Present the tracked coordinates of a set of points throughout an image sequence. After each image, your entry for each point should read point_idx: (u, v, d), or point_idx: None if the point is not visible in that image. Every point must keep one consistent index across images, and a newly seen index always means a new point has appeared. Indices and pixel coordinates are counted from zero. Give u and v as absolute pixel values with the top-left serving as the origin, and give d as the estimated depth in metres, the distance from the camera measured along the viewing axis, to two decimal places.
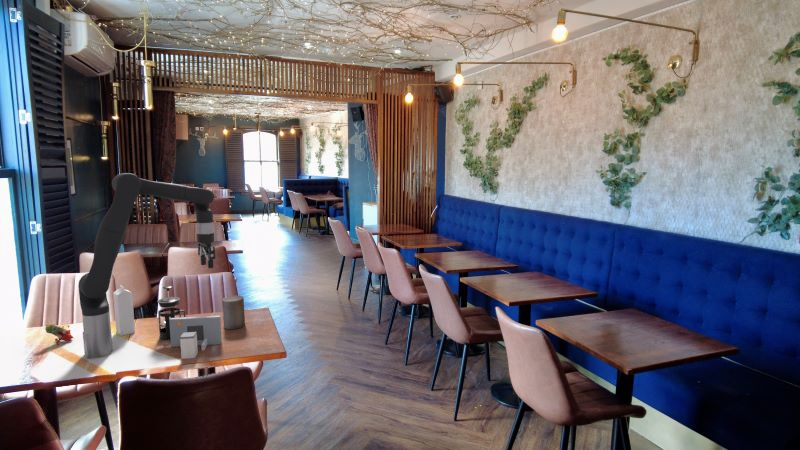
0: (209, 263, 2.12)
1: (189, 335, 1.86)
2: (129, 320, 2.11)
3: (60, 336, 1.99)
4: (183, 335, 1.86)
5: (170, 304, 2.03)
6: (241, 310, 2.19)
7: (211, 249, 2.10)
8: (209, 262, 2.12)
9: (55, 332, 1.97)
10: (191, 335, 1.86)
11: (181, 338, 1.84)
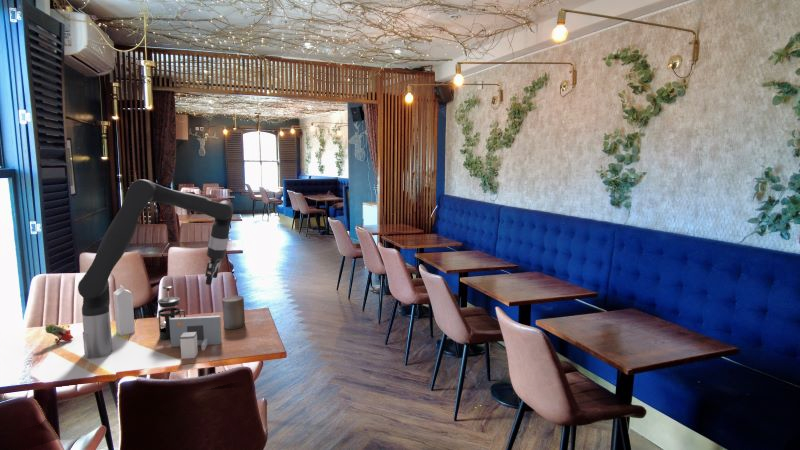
0: (207, 279, 1.99)
1: (189, 335, 1.86)
2: (129, 320, 2.11)
3: (60, 336, 1.99)
4: (183, 335, 1.86)
5: (170, 304, 2.03)
6: (241, 310, 2.19)
7: (209, 266, 1.96)
8: (207, 278, 1.99)
9: (55, 332, 1.97)
10: (191, 335, 1.86)
11: (181, 338, 1.84)
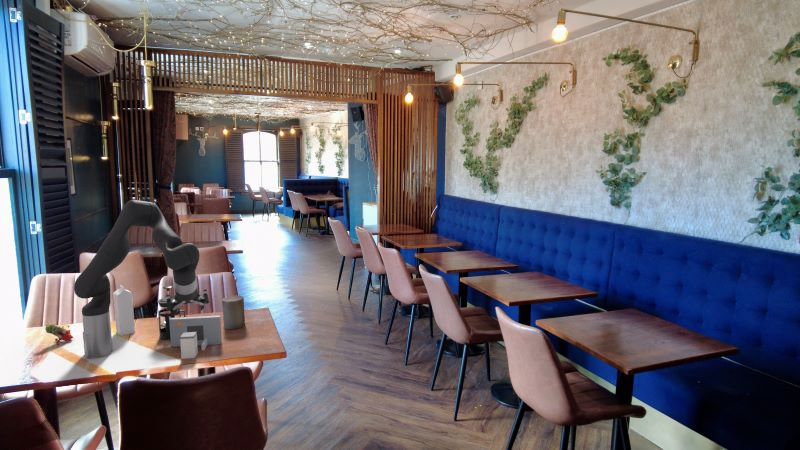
0: None
1: (189, 335, 1.86)
2: (129, 320, 2.11)
3: (60, 336, 1.99)
4: (183, 335, 1.86)
5: None
6: (241, 310, 2.19)
7: None
8: None
9: (55, 332, 1.97)
10: (191, 335, 1.86)
11: (181, 338, 1.84)
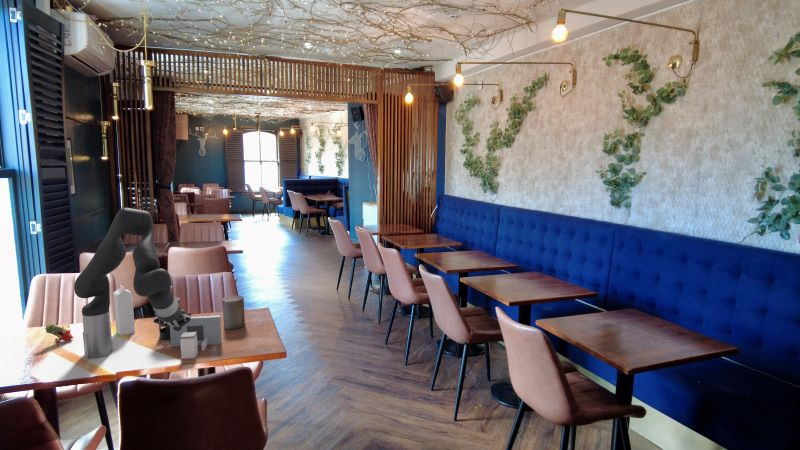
0: None
1: (189, 335, 1.86)
2: (129, 320, 2.11)
3: (60, 336, 1.99)
4: (183, 335, 1.86)
5: None
6: (241, 310, 2.19)
7: None
8: None
9: (55, 332, 1.97)
10: (191, 335, 1.86)
11: (181, 338, 1.84)
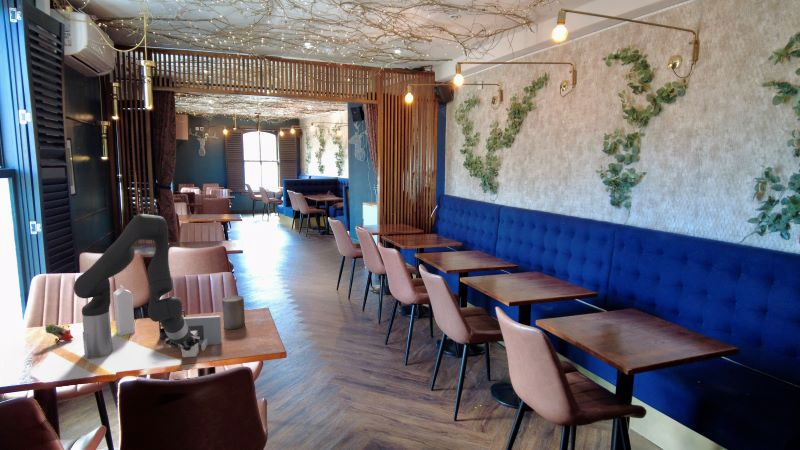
0: None
1: None
2: (129, 320, 2.11)
3: (60, 336, 1.99)
4: None
5: None
6: (241, 310, 2.19)
7: None
8: None
9: (55, 332, 1.97)
10: None
11: None
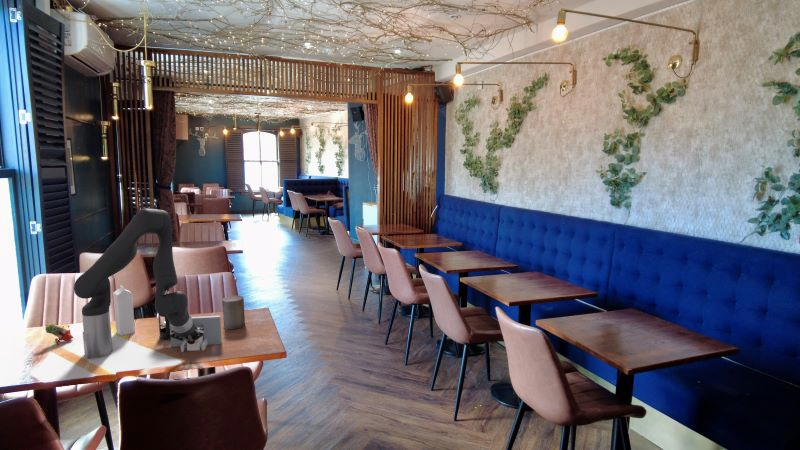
0: None
1: None
2: (129, 320, 2.11)
3: (60, 336, 1.99)
4: None
5: None
6: (241, 310, 2.19)
7: None
8: None
9: (55, 332, 1.97)
10: None
11: None
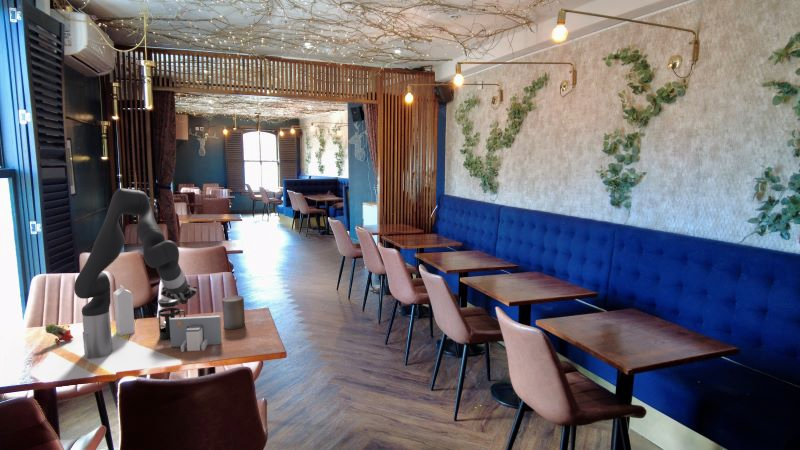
0: None
1: (195, 328, 1.93)
2: (129, 320, 2.11)
3: (60, 336, 1.99)
4: (189, 328, 1.93)
5: (170, 304, 2.03)
6: (241, 310, 2.19)
7: None
8: None
9: (55, 332, 1.97)
10: (196, 328, 1.93)
11: (187, 331, 1.92)
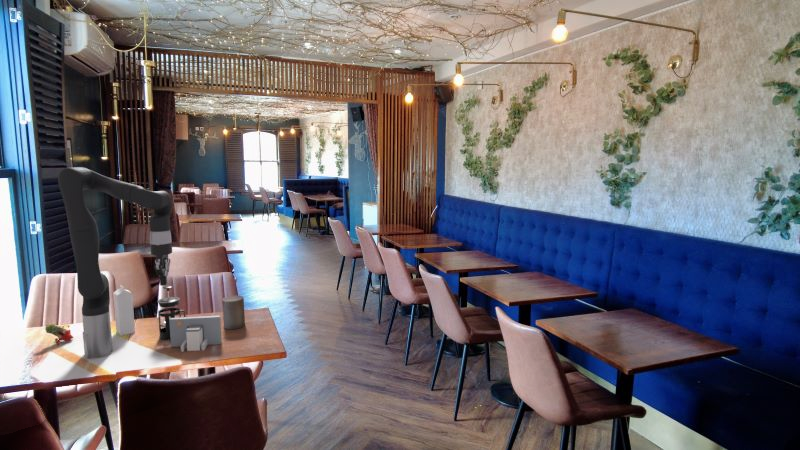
0: (160, 279, 1.84)
1: (195, 328, 1.93)
2: (129, 320, 2.11)
3: (60, 336, 1.99)
4: (189, 328, 1.93)
5: (170, 304, 2.03)
6: (241, 310, 2.19)
7: (157, 268, 1.79)
8: (160, 278, 1.84)
9: (55, 332, 1.97)
10: (196, 328, 1.93)
11: (187, 331, 1.92)
